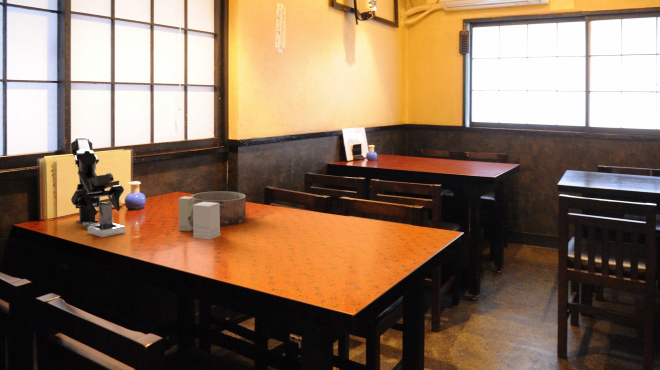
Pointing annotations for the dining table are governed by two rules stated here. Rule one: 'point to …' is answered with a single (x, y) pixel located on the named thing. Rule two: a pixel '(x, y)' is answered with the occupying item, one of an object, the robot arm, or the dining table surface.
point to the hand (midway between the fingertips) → (107, 212)
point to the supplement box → (206, 220)
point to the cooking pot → (226, 205)
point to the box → (186, 213)
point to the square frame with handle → (95, 229)
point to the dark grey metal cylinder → (105, 215)
